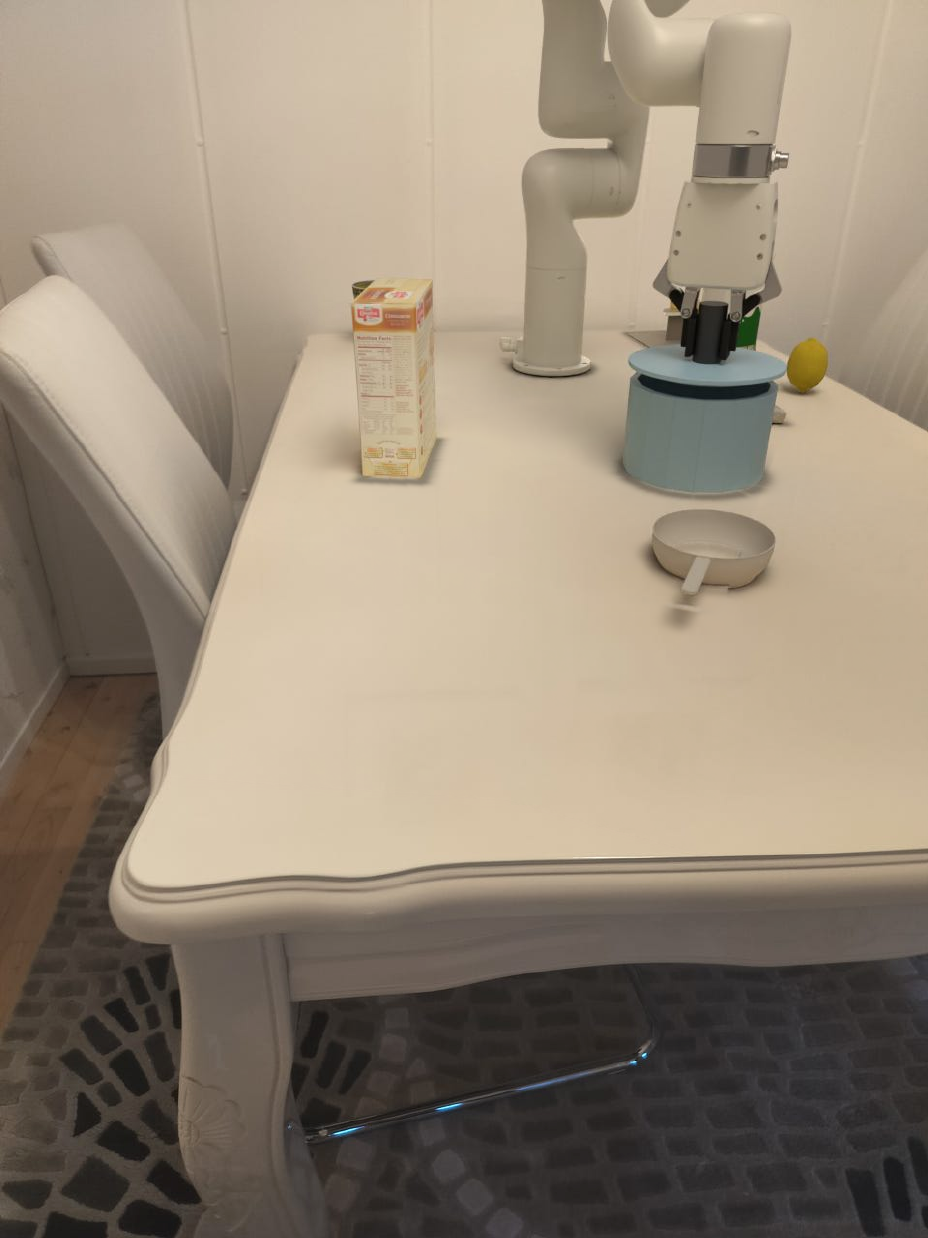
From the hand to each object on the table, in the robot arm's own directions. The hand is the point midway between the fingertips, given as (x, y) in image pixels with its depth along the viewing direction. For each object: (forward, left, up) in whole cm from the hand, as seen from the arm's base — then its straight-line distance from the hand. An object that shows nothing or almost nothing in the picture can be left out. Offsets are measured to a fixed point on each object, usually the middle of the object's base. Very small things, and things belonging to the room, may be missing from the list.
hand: (707, 354), depth 96 cm
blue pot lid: (0, 0, -1) cm, 1 cm away
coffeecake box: (-33, -9, -14) cm, 37 cm away
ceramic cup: (-63, +45, -14) cm, 79 cm away
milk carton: (-4, +48, -14) cm, 50 cm away
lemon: (+9, +40, -14) cm, 43 cm away
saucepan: (+6, -28, -14) cm, 32 cm away
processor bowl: (0, 0, -13) cm, 13 cm away
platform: (-14, +70, -14) cm, 73 cm away
